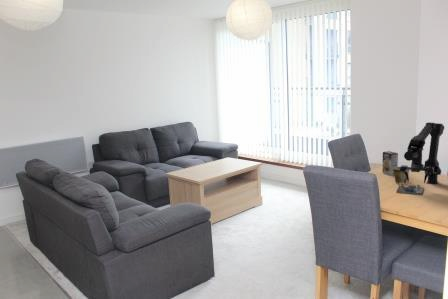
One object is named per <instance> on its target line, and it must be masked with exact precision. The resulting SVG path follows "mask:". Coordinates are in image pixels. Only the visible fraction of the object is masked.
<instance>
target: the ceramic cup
mask: <svg viewBox="0 0 448 299" xmlns="http://www.w3.org/2000/svg"><path fill="white" fill-rule="evenodd" d="M400 167H401V166H398V167H394V168H393V171H394V175H393V176H394V182H395V183H396V184H399V185H400V183H403V178H406V175H405V173H403V172H402V171H400ZM409 173H410V170H408V174H409ZM406 183H408V181H407V178H406Z"/></svg>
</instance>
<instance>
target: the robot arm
mask: <svg viewBox="0 0 448 299" xmlns="http://www.w3.org/2000/svg"><path fill="white" fill-rule="evenodd" d="M444 131H445V126H444V124H443V123H437V122H426V123H425V125H424V127H423V128H422V129H421V131H420V132H419V133H418V134H417V135H414V136H413V137H411V140H410V141H409V143H408V146H407V151H406V152H404V154H403V158H404V159H405V160H406V161H408V162H410V161H411V165H410V166H409V165H405V164H403V165H401V166H399V167H400V171H402V172H403V173H405V175H406V178H407V183H409V182H410V175H409V174H408V170H409V171H410V172H412V173H420V172H424V179H423V184H425V183H426V184H432V185H433V184H434V185H438V184H439V180H438V177H439V175H440V176H441V175H442V170H441V168H440V162H439V161H438V152H439V144H440V137H442V135H443V133H444ZM429 136H430V145H429V152H428V158H427V159H426V160H425V161H424V164H423V151H424V147H425V144H426V139H427V138H428V137H429Z"/></svg>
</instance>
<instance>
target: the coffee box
mask: <svg viewBox="0 0 448 299" xmlns="http://www.w3.org/2000/svg"><path fill="white" fill-rule="evenodd" d="M398 159H399V153H398V152H394V151H389V150H387V151H382V174H385V175H388V176H394V171H393V168H394V167H399V166H398V164H399V160H398Z"/></svg>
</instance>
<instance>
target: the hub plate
mask: <svg viewBox="0 0 448 299" xmlns="http://www.w3.org/2000/svg"><path fill="white" fill-rule="evenodd" d="M395 192H396V193H398V194H405V195H407V194H409V195H419V196H421V195H422V194H423V192H424V187H423V186H422V184H420V183H418V184H417V185H416V188H415V189H407V188H404V185H403V183H400V184H399V186H398V187H397V189H396V191H395Z"/></svg>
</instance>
